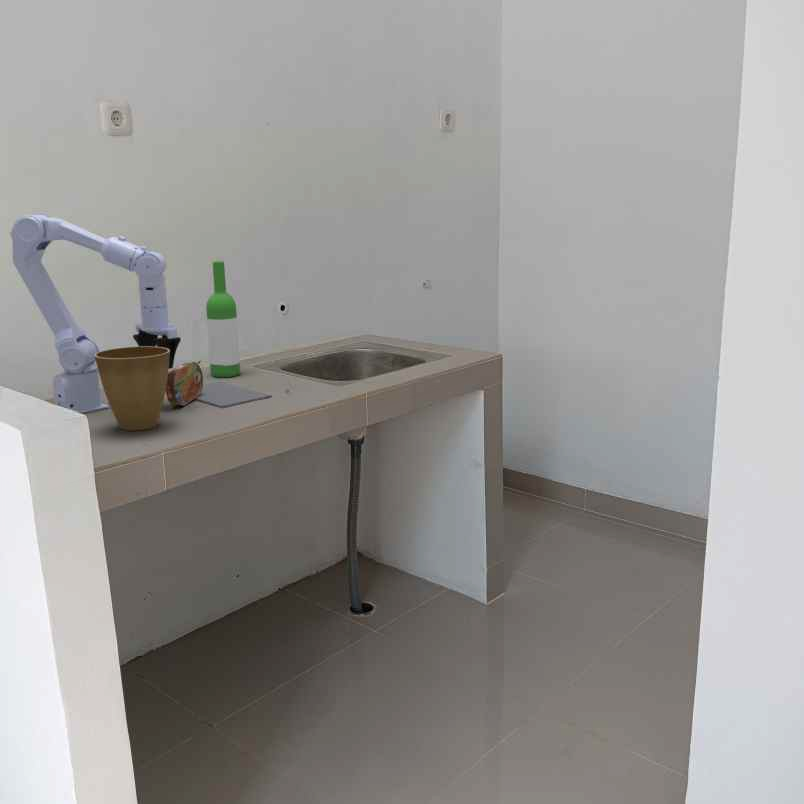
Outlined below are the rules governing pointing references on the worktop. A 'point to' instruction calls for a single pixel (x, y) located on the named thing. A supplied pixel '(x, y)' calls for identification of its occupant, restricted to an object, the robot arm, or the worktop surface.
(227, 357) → the wine bottle
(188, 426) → the worktop surface
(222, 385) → the mat
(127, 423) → the plant pot
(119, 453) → the worktop surface
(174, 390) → the tin
